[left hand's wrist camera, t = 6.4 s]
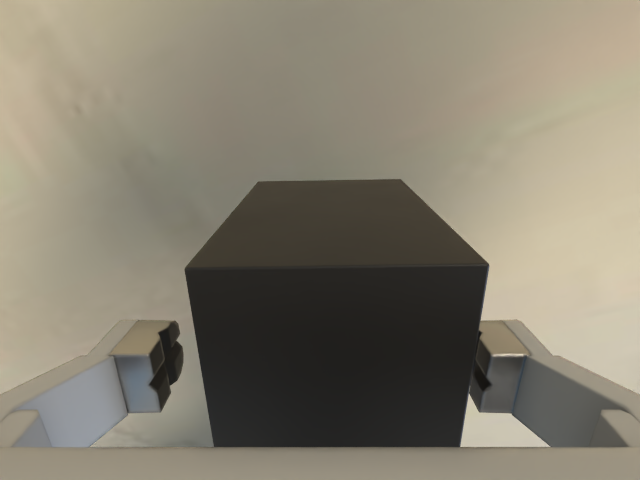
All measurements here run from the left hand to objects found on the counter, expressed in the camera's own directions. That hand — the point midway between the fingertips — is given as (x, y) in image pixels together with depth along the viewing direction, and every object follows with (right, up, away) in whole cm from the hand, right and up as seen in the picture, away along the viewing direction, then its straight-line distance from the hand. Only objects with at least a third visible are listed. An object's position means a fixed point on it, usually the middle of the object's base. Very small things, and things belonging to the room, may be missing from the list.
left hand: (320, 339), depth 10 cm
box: (+1, -5, +9) cm, 10 cm away
